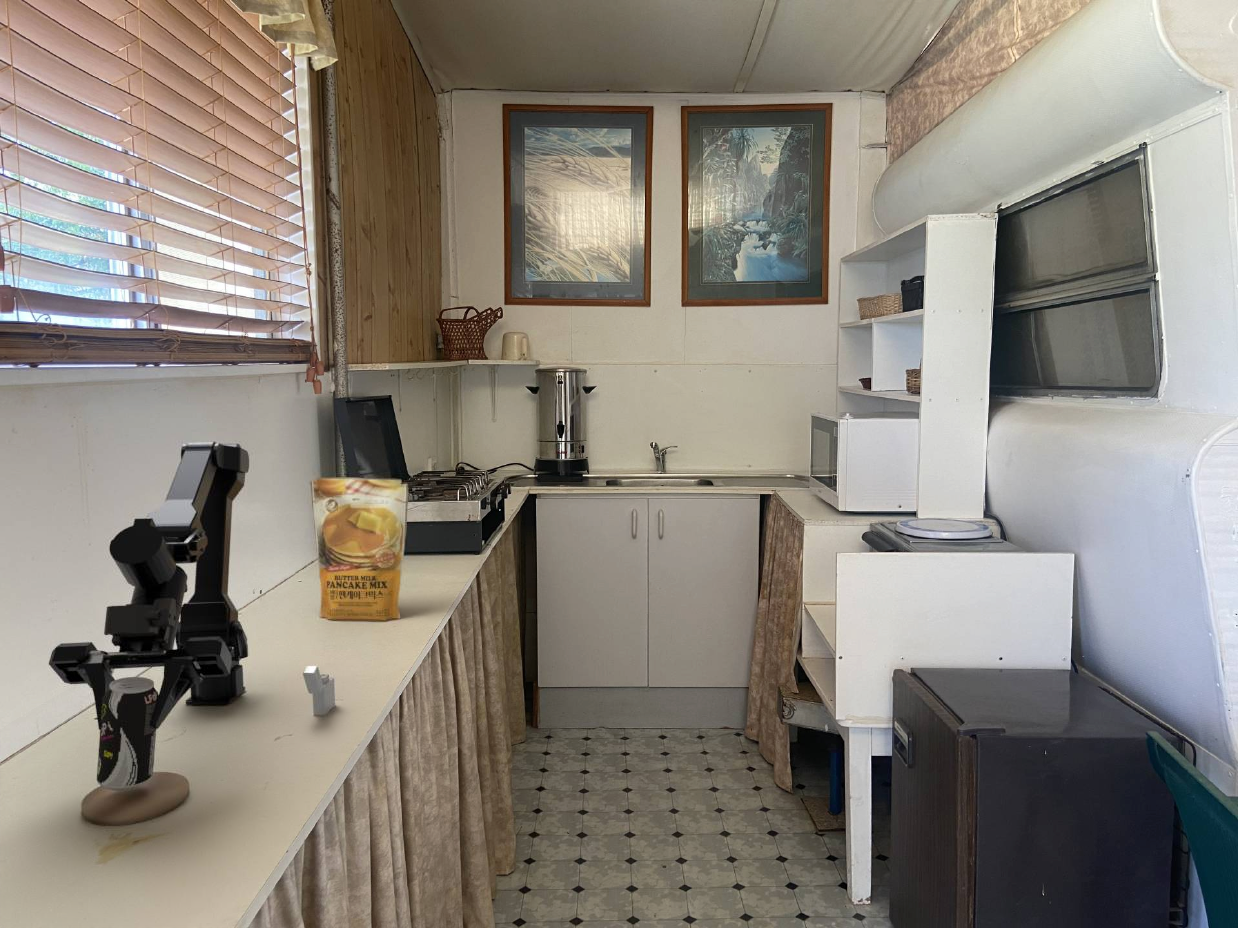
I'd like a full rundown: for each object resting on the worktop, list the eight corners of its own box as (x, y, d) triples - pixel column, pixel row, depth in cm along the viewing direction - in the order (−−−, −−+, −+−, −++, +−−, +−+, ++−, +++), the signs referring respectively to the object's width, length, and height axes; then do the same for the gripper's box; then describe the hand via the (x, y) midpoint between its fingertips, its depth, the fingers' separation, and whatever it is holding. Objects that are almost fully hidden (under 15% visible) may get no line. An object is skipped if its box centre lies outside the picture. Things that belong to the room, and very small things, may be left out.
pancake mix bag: (321, 611, 185) (316, 475, 182) (413, 613, 184) (409, 476, 180) (308, 620, 178) (302, 480, 175) (403, 622, 177) (399, 481, 174)
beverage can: (89, 778, 105) (96, 678, 103) (142, 767, 109) (149, 671, 108) (105, 799, 101) (113, 695, 99) (159, 786, 105) (167, 687, 104)
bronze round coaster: (60, 824, 99) (59, 816, 99) (116, 779, 110) (116, 771, 110) (159, 825, 99) (158, 817, 99) (206, 779, 110) (205, 772, 110)
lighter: (324, 704, 135) (322, 652, 134) (335, 704, 134) (333, 652, 134) (304, 723, 128) (302, 668, 127) (316, 723, 127) (314, 668, 127)
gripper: (49, 576, 104) (9, 705, 95) (220, 571, 107) (197, 694, 98) (83, 622, 113) (49, 744, 104) (240, 616, 116) (221, 734, 107)
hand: (128, 728), depth 103 cm, fingers closed on beverage can, 5 cm apart
